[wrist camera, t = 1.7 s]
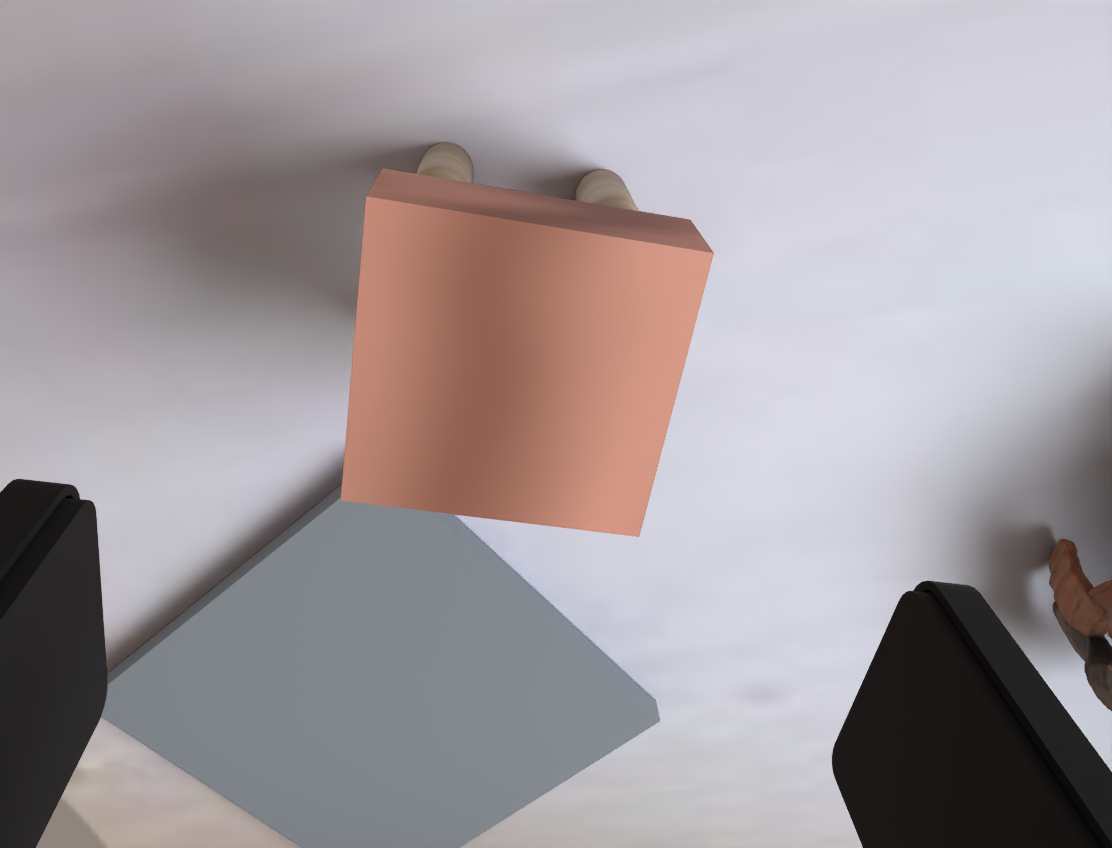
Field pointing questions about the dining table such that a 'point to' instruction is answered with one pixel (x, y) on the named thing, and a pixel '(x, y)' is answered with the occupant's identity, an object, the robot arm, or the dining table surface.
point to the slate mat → (376, 684)
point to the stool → (516, 347)
